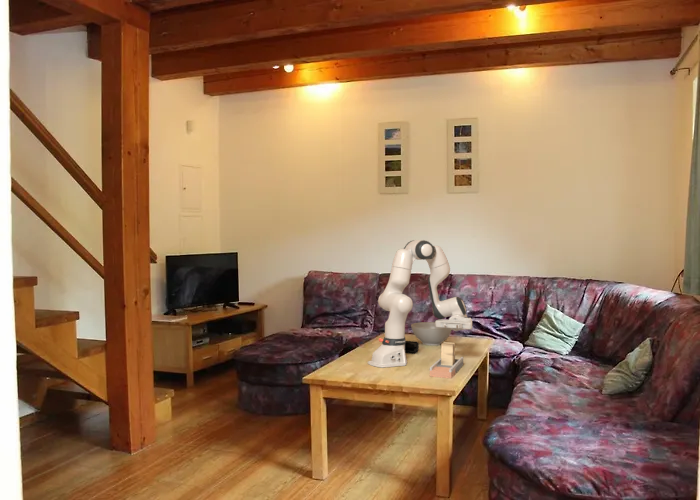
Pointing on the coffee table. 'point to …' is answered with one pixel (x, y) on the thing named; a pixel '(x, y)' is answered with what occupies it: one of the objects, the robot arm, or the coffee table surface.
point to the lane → (445, 369)
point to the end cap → (411, 347)
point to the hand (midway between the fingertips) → (451, 326)
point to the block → (447, 353)
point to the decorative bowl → (430, 333)
